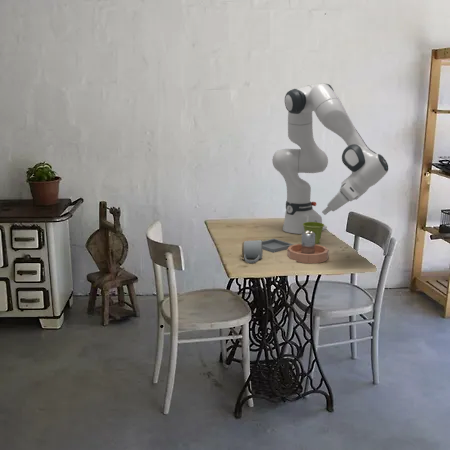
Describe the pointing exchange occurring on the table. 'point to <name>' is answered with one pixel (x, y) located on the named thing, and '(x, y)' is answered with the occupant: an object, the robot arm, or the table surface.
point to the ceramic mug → (252, 250)
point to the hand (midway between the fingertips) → (326, 210)
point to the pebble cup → (308, 242)
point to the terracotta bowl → (318, 257)
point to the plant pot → (314, 229)
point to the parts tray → (275, 245)
